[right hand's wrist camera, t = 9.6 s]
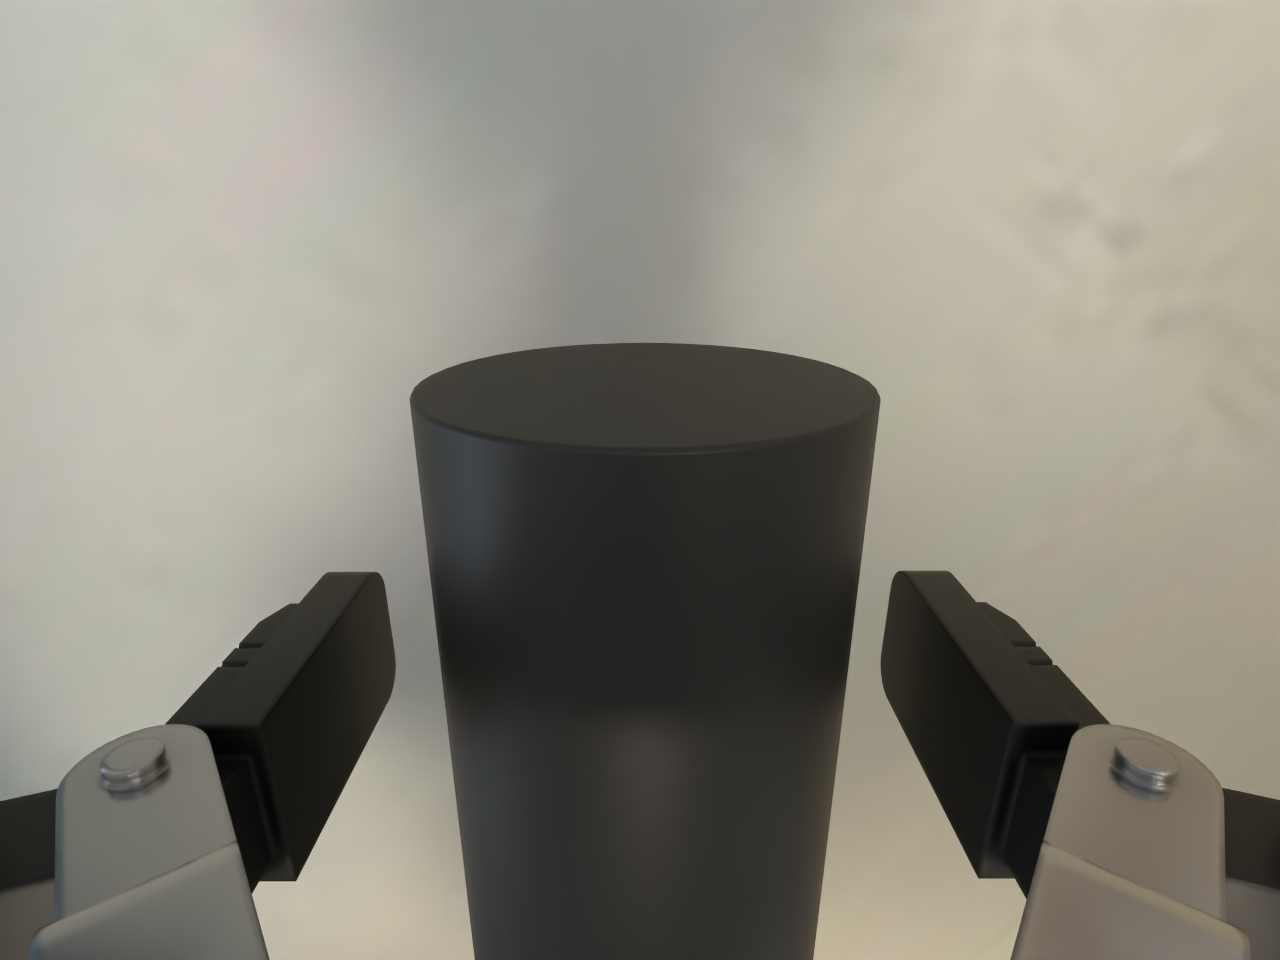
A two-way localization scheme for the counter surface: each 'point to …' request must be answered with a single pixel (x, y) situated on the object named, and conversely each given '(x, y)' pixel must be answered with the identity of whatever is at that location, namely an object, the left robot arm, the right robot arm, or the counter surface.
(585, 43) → the counter surface
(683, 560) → the rod
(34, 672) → the counter surface
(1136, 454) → the counter surface
